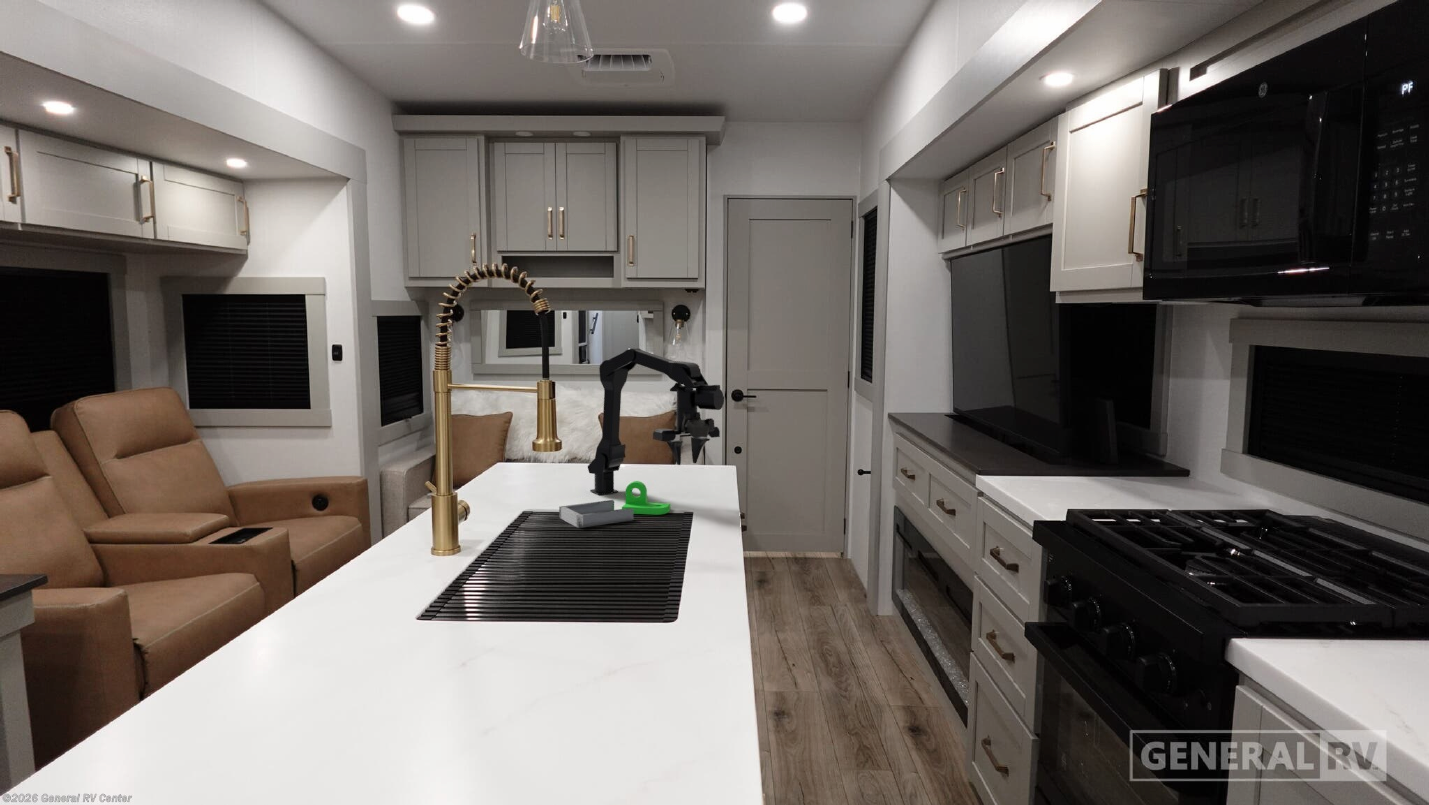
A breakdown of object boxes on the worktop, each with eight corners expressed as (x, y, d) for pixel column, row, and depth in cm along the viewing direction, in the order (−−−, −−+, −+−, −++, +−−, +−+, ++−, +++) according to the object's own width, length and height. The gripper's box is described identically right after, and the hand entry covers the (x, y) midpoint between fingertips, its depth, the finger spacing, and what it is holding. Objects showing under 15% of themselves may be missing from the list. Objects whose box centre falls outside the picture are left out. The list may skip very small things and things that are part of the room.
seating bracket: (559, 517, 194) (559, 506, 194) (612, 510, 203) (612, 500, 203) (578, 528, 184) (578, 516, 184) (633, 520, 193) (633, 508, 192)
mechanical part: (621, 514, 200) (621, 484, 199) (627, 509, 206) (627, 480, 205) (665, 515, 198) (665, 486, 198) (670, 510, 204) (670, 482, 204)
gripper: (672, 412, 195) (672, 471, 196) (731, 409, 205) (730, 465, 206) (652, 408, 204) (652, 465, 205) (709, 405, 214) (708, 459, 215)
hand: (686, 464), depth 208 cm, fingers open, 5 cm apart
